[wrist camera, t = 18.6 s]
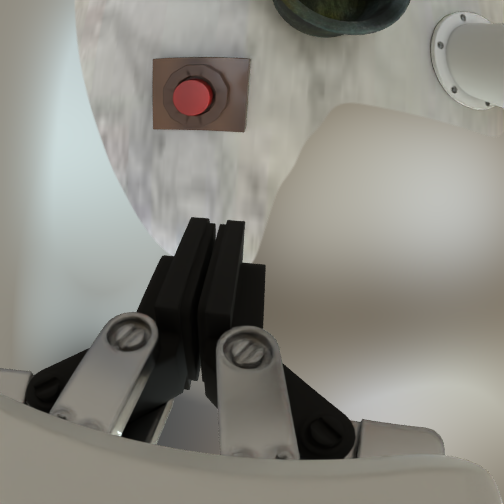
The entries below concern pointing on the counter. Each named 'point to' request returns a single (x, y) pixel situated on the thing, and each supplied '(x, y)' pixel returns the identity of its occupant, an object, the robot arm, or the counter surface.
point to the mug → (340, 15)
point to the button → (192, 97)
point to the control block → (221, 82)
